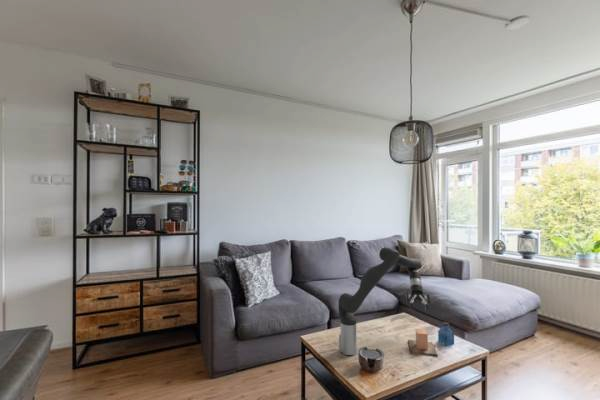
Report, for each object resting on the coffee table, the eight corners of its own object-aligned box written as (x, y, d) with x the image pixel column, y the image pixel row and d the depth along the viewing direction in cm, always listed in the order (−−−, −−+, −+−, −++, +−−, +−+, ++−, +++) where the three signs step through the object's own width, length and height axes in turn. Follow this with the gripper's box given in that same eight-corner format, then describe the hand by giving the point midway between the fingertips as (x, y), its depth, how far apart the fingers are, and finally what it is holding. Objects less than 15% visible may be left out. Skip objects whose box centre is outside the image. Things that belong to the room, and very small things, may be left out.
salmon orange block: (417, 348, 164) (417, 333, 164) (415, 343, 170) (415, 328, 170) (427, 349, 163) (427, 334, 163) (425, 344, 168) (425, 329, 168)
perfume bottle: (445, 339, 177) (445, 320, 177) (454, 343, 172) (454, 324, 172) (438, 340, 175) (438, 321, 175) (446, 345, 169) (446, 325, 169)
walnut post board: (411, 353, 161) (411, 340, 161) (408, 341, 175) (408, 330, 175) (437, 356, 158) (437, 343, 158) (432, 343, 171) (432, 332, 171)
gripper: (405, 283, 186) (407, 306, 175) (428, 284, 183) (432, 308, 172) (404, 288, 192) (406, 311, 180) (426, 290, 188) (430, 313, 177)
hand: (419, 310), depth 176 cm, fingers open, 8 cm apart
